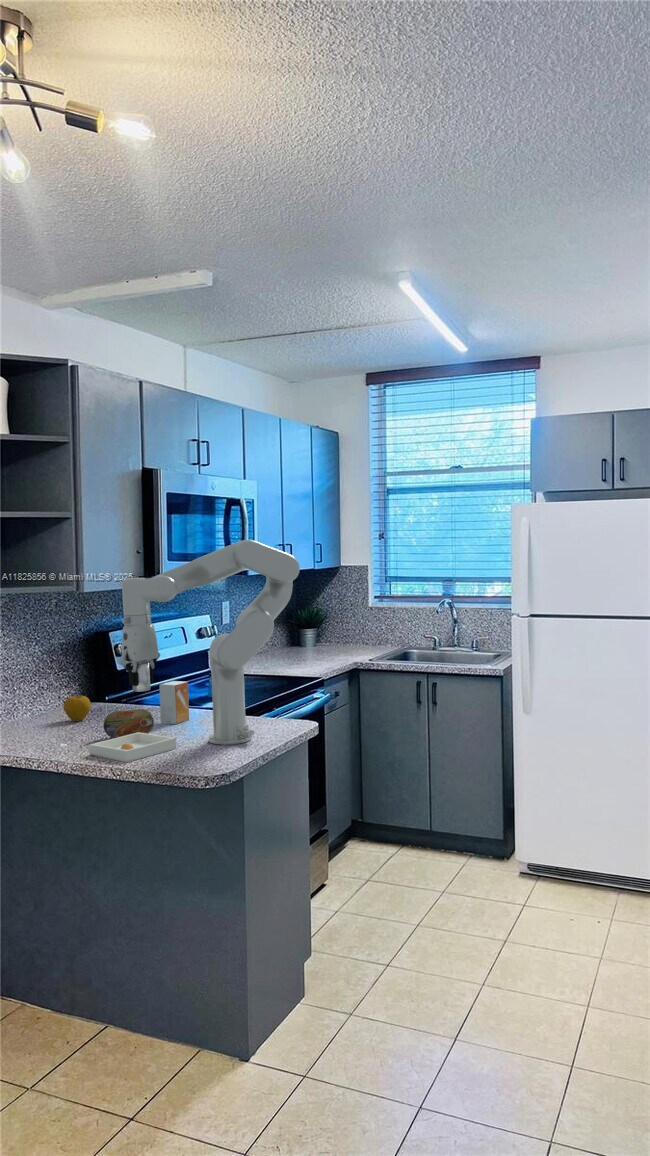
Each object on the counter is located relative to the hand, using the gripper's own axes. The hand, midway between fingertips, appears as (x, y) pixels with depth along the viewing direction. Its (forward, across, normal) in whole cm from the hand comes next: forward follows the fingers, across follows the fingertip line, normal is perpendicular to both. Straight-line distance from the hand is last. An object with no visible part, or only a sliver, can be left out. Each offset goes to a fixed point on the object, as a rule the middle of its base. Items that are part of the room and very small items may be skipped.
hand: (141, 683), depth 241 cm
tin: (+19, +9, +17) cm, 28 cm away
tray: (+19, -4, 0) cm, 19 cm away
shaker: (+2, 0, 0) cm, 2 cm away
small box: (+20, +32, +21) cm, 43 cm away
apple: (+19, +18, +53) cm, 59 cm away
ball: (+17, -10, -4) cm, 20 cm away
